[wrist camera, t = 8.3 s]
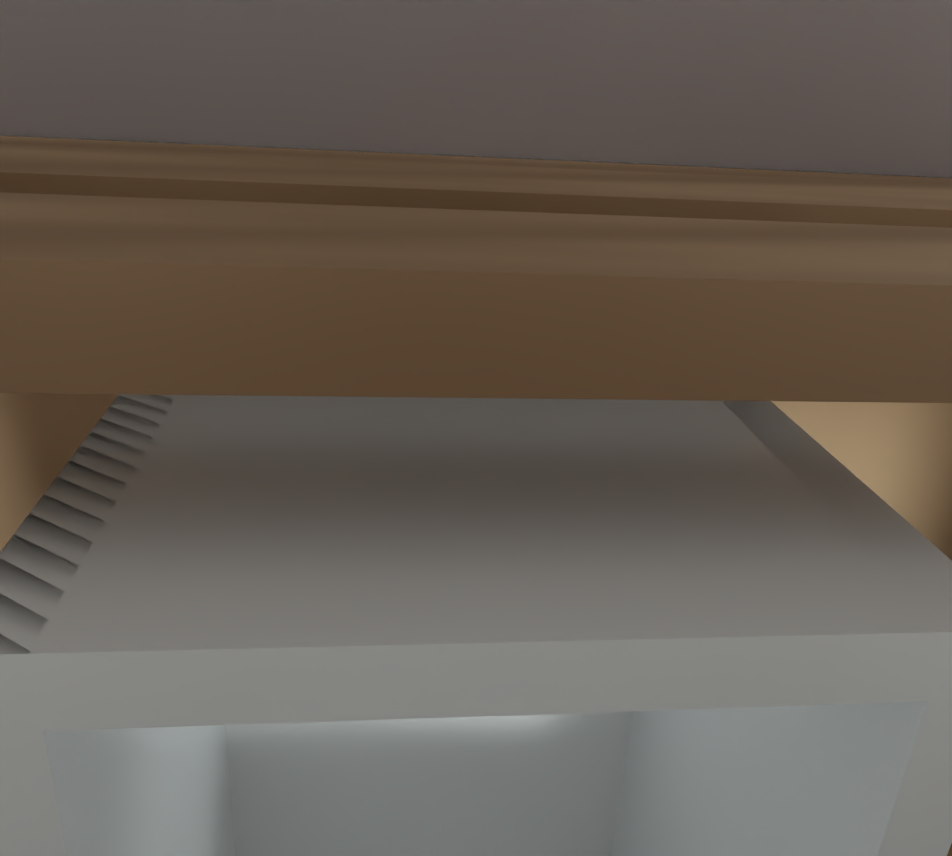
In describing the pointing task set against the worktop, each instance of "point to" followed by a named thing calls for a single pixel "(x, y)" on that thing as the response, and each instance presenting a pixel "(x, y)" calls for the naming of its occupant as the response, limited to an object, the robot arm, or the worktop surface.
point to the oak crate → (473, 293)
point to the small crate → (469, 637)
